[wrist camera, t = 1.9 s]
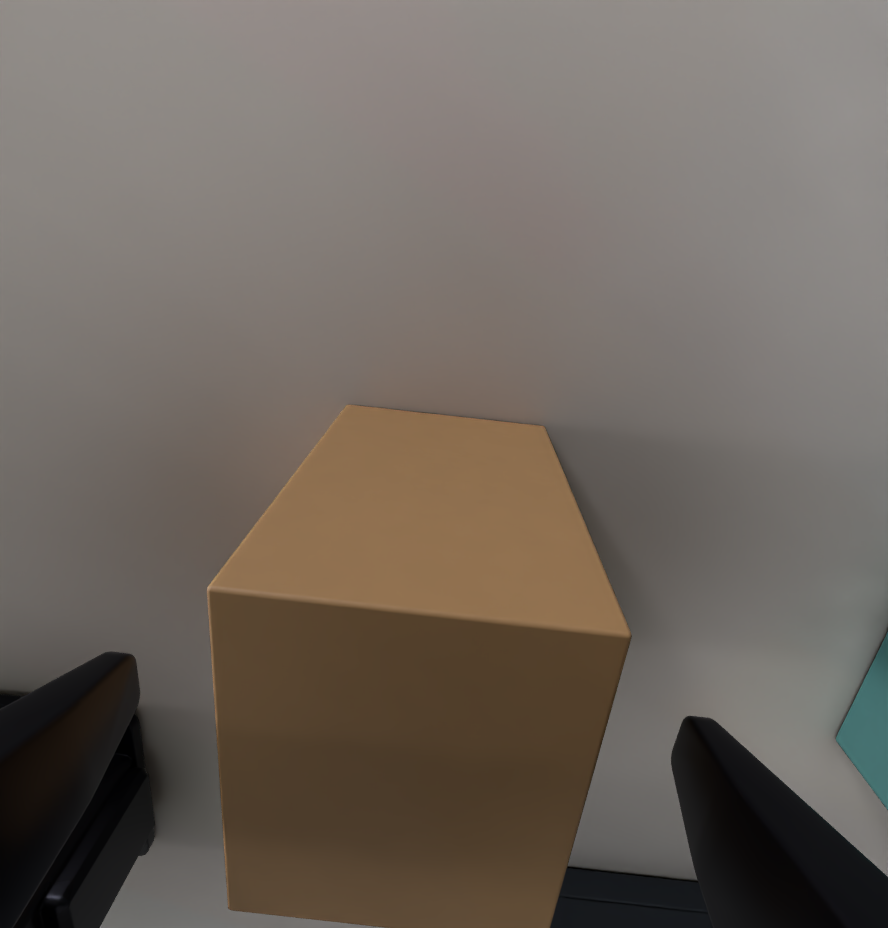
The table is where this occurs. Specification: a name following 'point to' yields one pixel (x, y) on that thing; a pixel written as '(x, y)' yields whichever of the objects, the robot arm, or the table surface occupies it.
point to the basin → (628, 902)
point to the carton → (412, 678)
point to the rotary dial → (870, 727)
